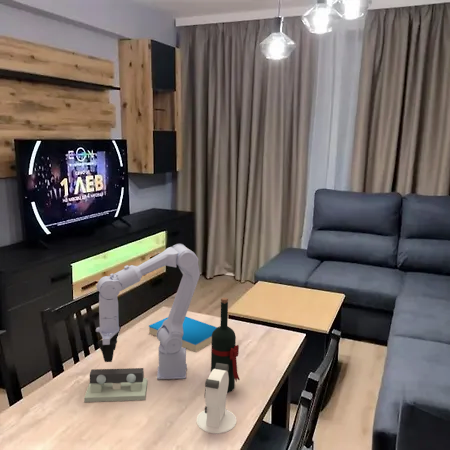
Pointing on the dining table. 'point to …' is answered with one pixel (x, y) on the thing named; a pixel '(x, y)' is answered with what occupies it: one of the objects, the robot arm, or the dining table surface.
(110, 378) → the bar
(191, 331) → the book
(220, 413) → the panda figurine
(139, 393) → the stand
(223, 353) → the wine bottle
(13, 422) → the dining table surface
